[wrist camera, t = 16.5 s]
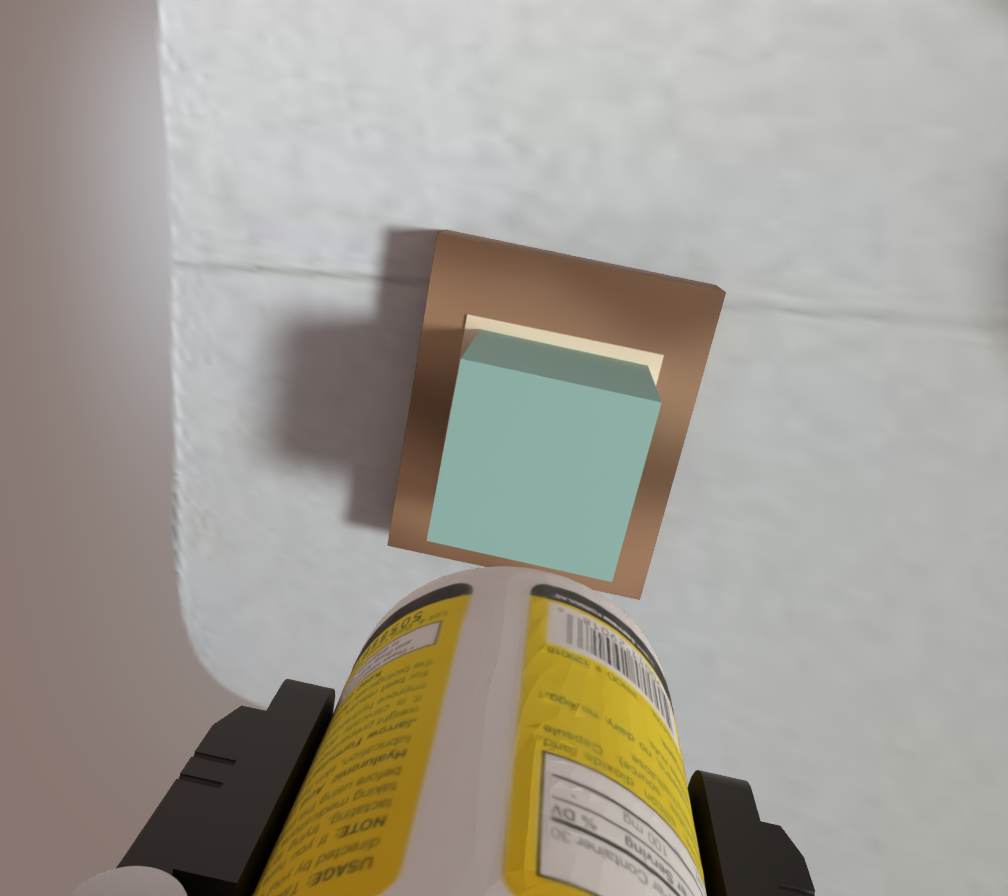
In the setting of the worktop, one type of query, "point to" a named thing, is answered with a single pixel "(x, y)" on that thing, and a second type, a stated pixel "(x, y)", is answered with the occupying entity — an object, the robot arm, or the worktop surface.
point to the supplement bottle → (496, 755)
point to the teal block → (543, 454)
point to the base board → (566, 323)
